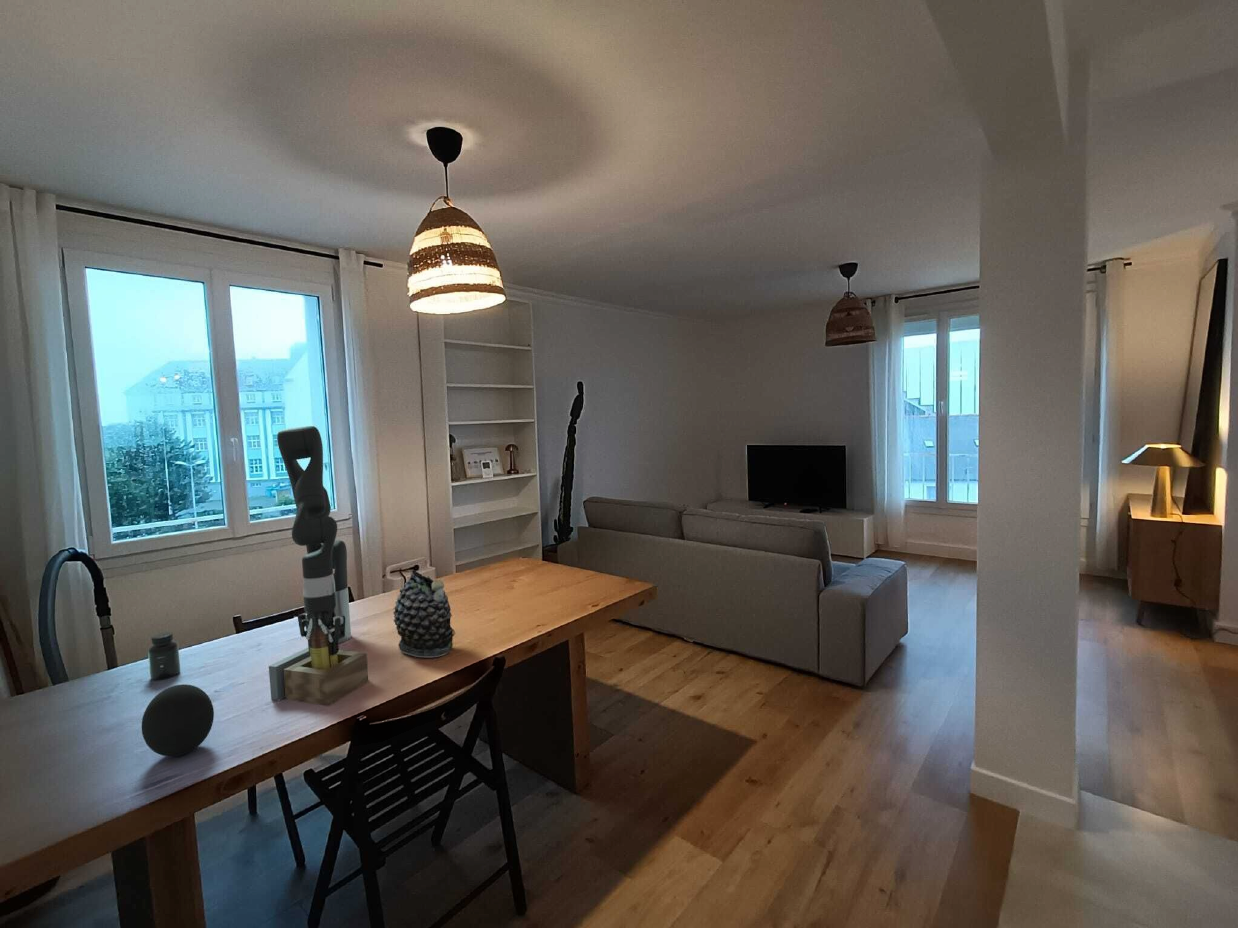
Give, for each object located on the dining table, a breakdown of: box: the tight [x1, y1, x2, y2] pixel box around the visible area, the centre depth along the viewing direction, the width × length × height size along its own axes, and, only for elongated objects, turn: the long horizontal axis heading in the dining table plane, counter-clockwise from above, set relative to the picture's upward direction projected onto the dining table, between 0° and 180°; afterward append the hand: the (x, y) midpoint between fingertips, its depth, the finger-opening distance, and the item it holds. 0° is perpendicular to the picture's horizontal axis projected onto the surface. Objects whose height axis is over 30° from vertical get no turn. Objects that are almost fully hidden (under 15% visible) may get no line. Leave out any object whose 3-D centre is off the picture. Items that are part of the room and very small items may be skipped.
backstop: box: [268, 647, 311, 701], centre depth 154 cm, size 2×16×9 cm, turn 162°
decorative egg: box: [141, 683, 215, 758], centre depth 123 cm, size 12×12×15 cm
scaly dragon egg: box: [393, 570, 456, 659], centre depth 175 cm, size 21×15×25 cm
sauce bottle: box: [309, 612, 338, 670], centre depth 150 cm, size 7×6×20 cm
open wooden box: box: [284, 649, 369, 706], centre depth 151 cm, size 14×14×8 cm
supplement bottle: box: [147, 632, 181, 681], centre depth 163 cm, size 7×7×12 cm
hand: (323, 652), depth 151 cm, fingers closed on sauce bottle, 6 cm apart
